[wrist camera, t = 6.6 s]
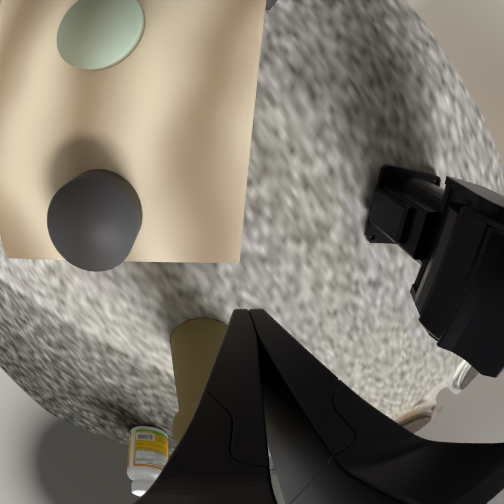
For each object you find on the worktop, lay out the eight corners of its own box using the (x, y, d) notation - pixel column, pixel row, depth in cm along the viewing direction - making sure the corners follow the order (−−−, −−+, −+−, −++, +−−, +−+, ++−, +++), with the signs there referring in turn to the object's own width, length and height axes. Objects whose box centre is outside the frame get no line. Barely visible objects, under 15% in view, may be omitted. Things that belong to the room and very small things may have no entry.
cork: (158, 347, 26) (150, 453, 16) (195, 307, 24) (198, 424, 14) (210, 371, 28) (219, 470, 19) (249, 337, 27) (273, 443, 17)
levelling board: (266, -33, 11) (280, -59, 7) (236, 251, 19) (243, 282, 16) (15, -4, 8) (-13, -15, 5) (15, 247, 16) (-8, 273, 13)
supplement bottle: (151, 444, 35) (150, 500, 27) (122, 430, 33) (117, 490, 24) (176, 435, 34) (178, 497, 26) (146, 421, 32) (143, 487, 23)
